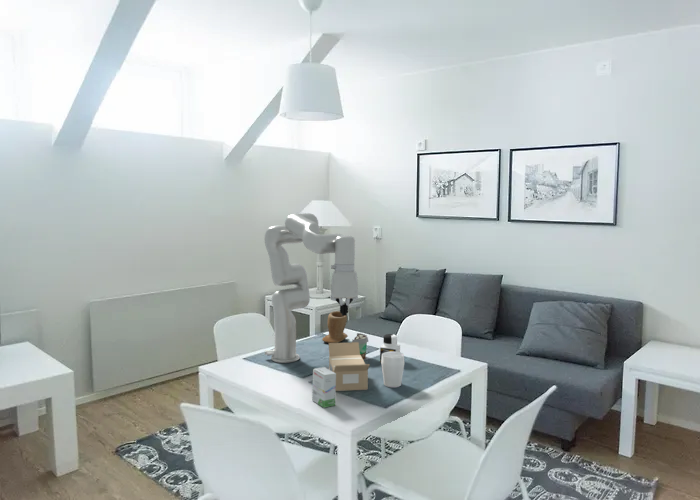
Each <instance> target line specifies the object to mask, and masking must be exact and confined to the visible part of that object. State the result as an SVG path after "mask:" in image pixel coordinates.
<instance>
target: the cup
mask: <svg viewBox="0 0 700 500" xmlns="http://www.w3.org/2000/svg"><path fill="white" fill-rule="evenodd" d="M380 363H381V371H382V377H383V378H382V379H383V385H384V386H385V387H388V388H392V389H393V388H399V387H400V386H402V381H403V375H404V368H405V354H404V353H403V352H401V351H400V352H394V351H390V352H384V353H382V359H381V362H380Z"/></svg>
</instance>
